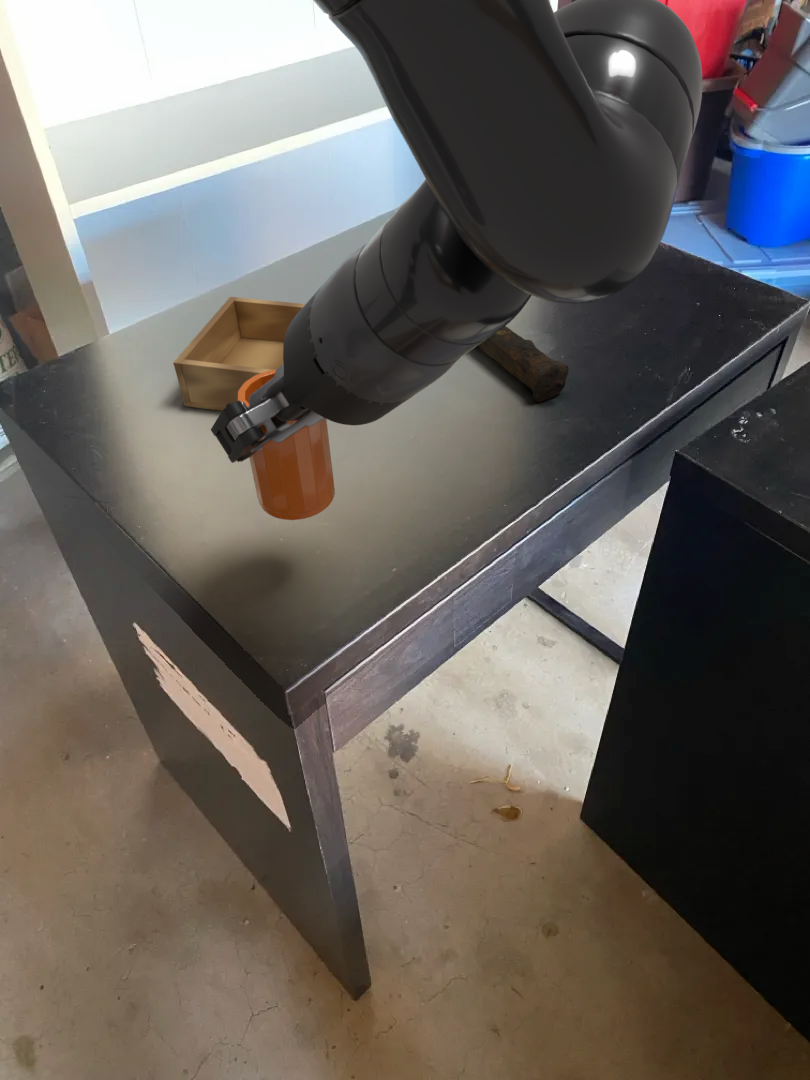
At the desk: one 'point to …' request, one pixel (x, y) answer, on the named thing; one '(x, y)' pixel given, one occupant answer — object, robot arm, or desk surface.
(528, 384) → the dark brown long bar
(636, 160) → the robot arm
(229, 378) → the wooden tray
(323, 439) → the orange cup
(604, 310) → the desk surface
